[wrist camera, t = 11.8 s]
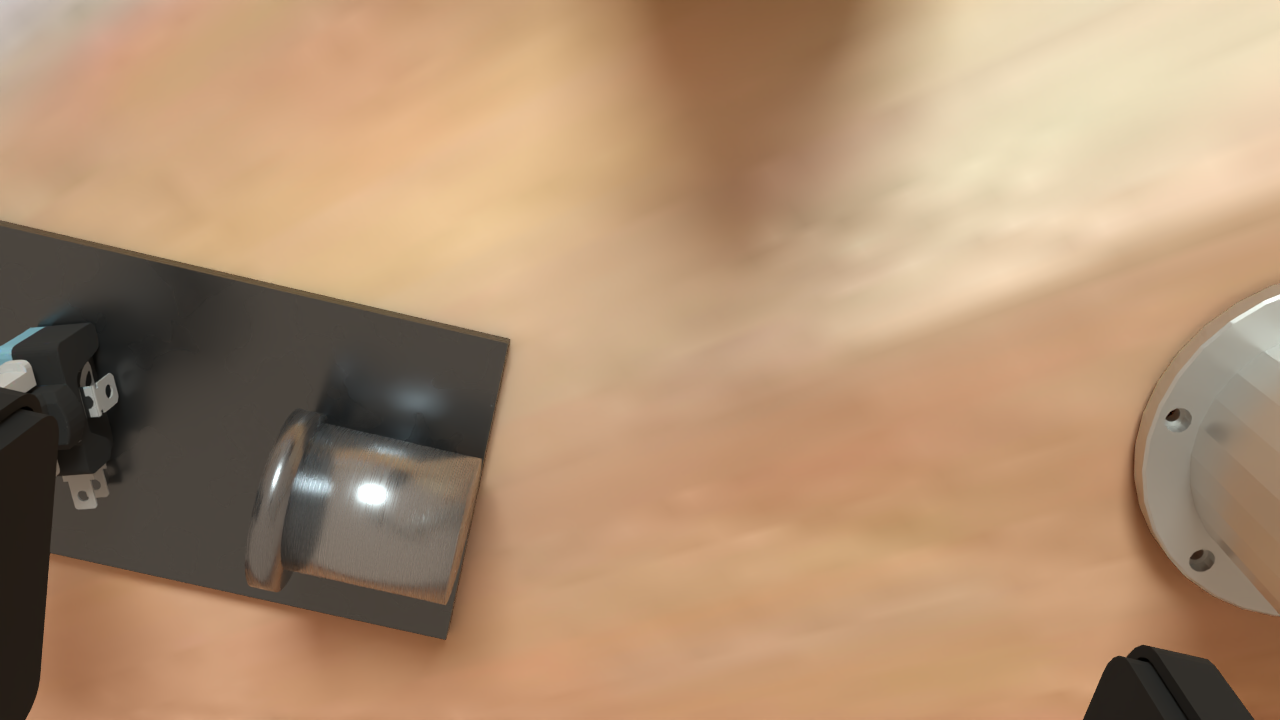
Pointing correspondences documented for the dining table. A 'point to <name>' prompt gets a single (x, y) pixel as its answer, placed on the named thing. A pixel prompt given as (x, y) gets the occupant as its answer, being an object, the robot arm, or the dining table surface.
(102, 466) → the push button
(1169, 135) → the dining table surface
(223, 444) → the plate with silver knobs
